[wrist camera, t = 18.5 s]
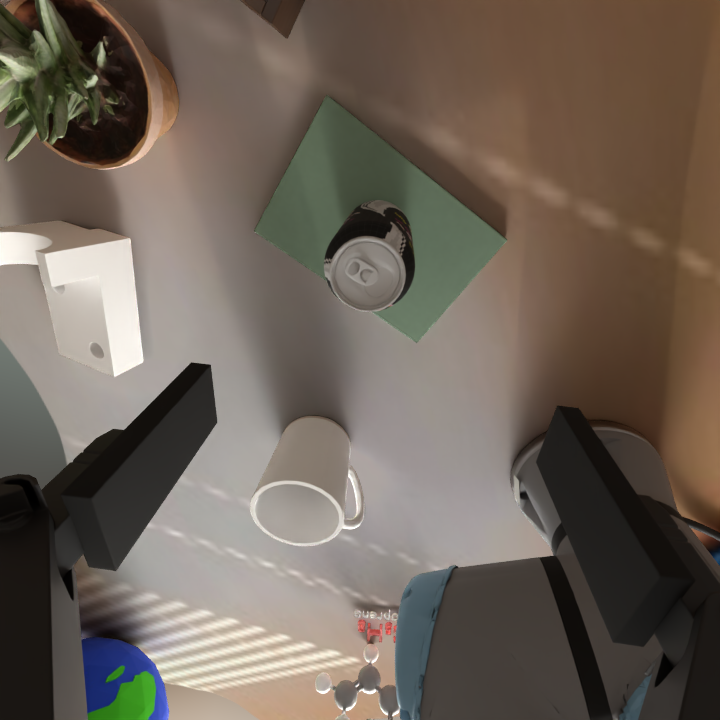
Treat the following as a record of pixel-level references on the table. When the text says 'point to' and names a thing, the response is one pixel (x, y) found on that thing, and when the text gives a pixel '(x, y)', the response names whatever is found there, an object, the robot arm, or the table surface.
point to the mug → (307, 485)
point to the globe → (121, 682)
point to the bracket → (83, 290)
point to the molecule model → (364, 675)
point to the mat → (367, 183)
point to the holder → (277, 12)
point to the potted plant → (82, 82)
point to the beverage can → (371, 257)
